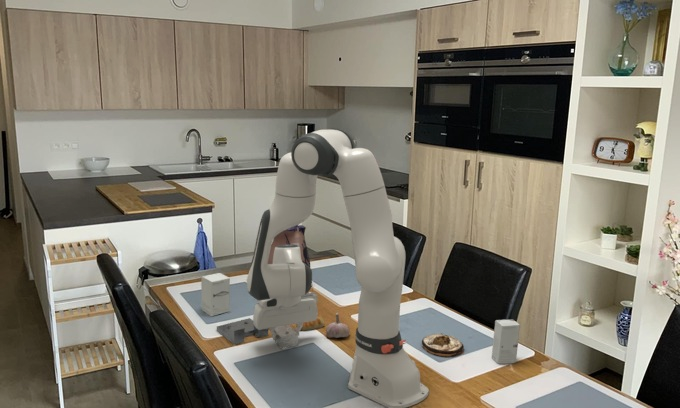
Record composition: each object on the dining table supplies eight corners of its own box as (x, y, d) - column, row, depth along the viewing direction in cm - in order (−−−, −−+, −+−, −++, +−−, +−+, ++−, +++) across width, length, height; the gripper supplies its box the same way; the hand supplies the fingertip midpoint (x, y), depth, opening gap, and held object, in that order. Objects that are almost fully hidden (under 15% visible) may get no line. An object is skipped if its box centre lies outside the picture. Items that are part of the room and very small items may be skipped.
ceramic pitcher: (308, 294, 211) (309, 231, 206) (253, 292, 211) (254, 229, 206) (311, 279, 228) (312, 220, 223) (260, 277, 228) (261, 218, 223)
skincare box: (498, 364, 160) (502, 326, 158) (490, 357, 165) (494, 319, 162) (517, 363, 162) (521, 324, 159) (509, 356, 166) (513, 318, 164)
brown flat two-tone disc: (436, 364, 160) (437, 351, 160) (409, 343, 174) (409, 330, 173) (476, 355, 167) (477, 342, 166) (447, 335, 180) (448, 323, 179)
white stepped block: (298, 345, 168) (298, 334, 167) (281, 348, 166) (281, 337, 165) (285, 331, 177) (286, 321, 177) (269, 334, 175) (269, 323, 174)
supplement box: (211, 317, 187) (210, 281, 184) (201, 310, 192) (200, 275, 190) (230, 311, 192) (230, 277, 189) (219, 305, 197) (219, 272, 194)
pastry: (303, 334, 176) (304, 323, 176) (291, 327, 181) (291, 316, 181) (326, 326, 183) (326, 316, 182) (313, 320, 188) (313, 310, 187)
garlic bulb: (322, 338, 173) (323, 315, 172) (330, 329, 180) (331, 307, 179) (344, 343, 171) (345, 319, 169) (352, 334, 178) (353, 310, 176)
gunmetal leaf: (268, 335, 174) (268, 321, 173) (234, 344, 167) (234, 331, 166) (249, 322, 184) (249, 309, 183) (216, 330, 176) (216, 317, 175)
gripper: (313, 287, 174) (312, 328, 177) (251, 296, 165) (251, 338, 168) (321, 294, 169) (320, 336, 171) (258, 303, 160) (257, 347, 162)
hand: (285, 337), depth 170 cm, fingers closed on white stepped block, 5 cm apart
